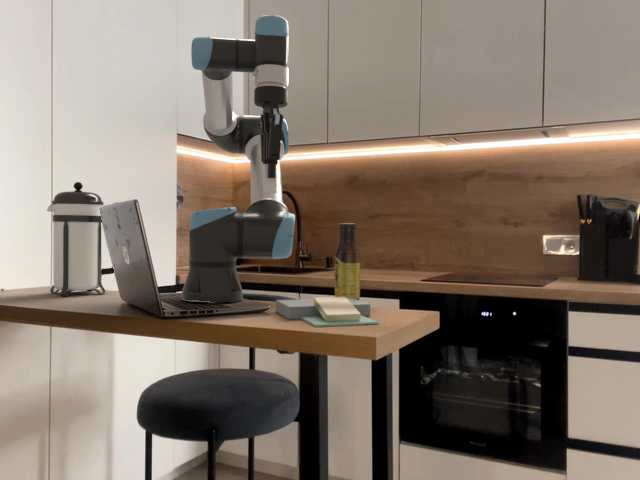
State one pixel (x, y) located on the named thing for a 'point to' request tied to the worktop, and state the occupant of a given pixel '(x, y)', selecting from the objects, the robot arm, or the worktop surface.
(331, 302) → the cream notepad
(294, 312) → the grey slab
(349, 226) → the sauce bottle
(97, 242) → the coffee press
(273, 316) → the worktop surface
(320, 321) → the mat
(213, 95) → the robot arm
